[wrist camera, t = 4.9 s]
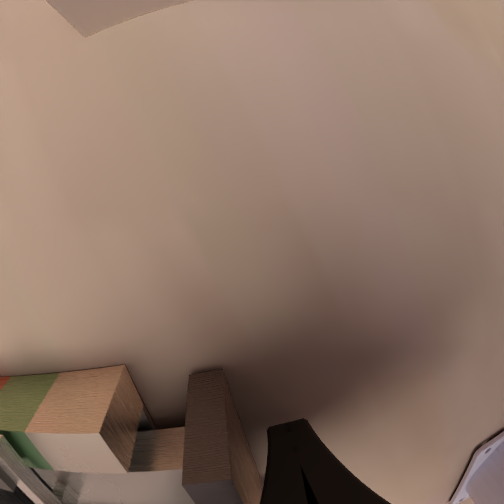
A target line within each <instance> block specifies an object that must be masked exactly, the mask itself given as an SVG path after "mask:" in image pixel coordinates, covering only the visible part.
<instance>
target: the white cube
mask: <svg viewBox="0 0 504 504" xmlns="http://www.w3.org/2000/svg"><path fill="white" fill-rule="evenodd" d="M46 1H47V2H48V3H49V4H50V5H51V6H52V7H53V8H54V9H56V10H57V11H58V12H59V13H60V14H61V15H62V16H63V17H64V18H65V19H66V20H67V21H68V22H69V23H70V24H71V25H72V26H73V27H74V28H75V29H76V30H77V31H78V32H79V33H81V34H82V35H83V36H84V37H88V36H90V35H92V34H94V33H97V32H99V31H101V30H104V29H106V28H109V27H111V26H114V25H116V24H119V23H122V22H124V21H127V20H130V19H133V18H135V17H138V16H141V15H144V14H147V13H150V12H153V11H157V10H160V9H163V8H167V7H170V6H174V5H177V4H181V3H185V2H189V1H193V0H46Z"/></svg>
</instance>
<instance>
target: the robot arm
mask: <svg viewBox="0 0 504 504" xmlns="http://www.w3.org/2000/svg"><path fill="white" fill-rule="evenodd" d="M267 435H268V455H267V466H266V473H265V480H264V486H263V491H262V495H261V500H260V504H391V503H389V502H388V501H386V500H385V499H383V498H382V497H380V496H379V495H378V494H376V493H375V492H374V491H372V490H371V489H370V488H368V487H367V486H366V485H365V484H364V483H362V482H361V481H360V480H359V479H358V478H357V477H355V476H354V475H353V474H352V473H351V472H350V471H349V470H348V469H347V468H346V467H345V466H344V465H343V464H342V463H341V462H340V461H339V460H338V459H337V458H336V457H335V456H334V455H333V454H332V453H331V452H330V450H329V449H328V448H327V447H326V446H325V444H324V443H323V442H322V441H321V440H320V438H319V437H318V436H317V434H316V433H315V432H314V430H313V429H312V427H311V425H310V424H309V422H308V420H306V419H304V418H303V419H299V420H295V421H292V422H288V423H284V424H280V425H275V426H271V427H269V428H268V429H267ZM469 496H470V497H471V498H472V500H473V501H474V503H475V504H504V431H503V432H502V433H500V434H499V435H498V436H496V437H495V438H493V439H492V440H490V441H489V442H487V443H486V444H485V445H483V446H482V447H480V448H479V449H478V450H477V451H476V452H475V454H474V456H473V458H472V460H471V462H470V464H469V466H468V468H467V470H466V472H465V474H464V476H463V478H462V480H461V482H460V484H459V486H458V488H457V490H456V492H455V494H454V495H453V497H452V499H451V501H450V502H449V504H458V503H460V502H461V501H463V500H465V499H466V498H468V497H469Z"/></svg>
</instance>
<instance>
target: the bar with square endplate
mask: <svg viewBox="0 0 504 504" xmlns="http://www.w3.org/2000/svg"><path fill="white" fill-rule="evenodd" d="M0 467H1V468H2V469H3V471H4V472H5V473H6V474H7V475H8V476H9V477H10V478H11V479H12V481H13V482H14V483H15V484H16V485H17V486H18V487H19V488H20V489H21V490H22V491H23V492H24V493H25V494H26V495H27V496H28V497H29V498H30V499H31V500H32V501H33V502H34V503H35V504H260V500H261V495H262V488H261V483H260V477H259V473H258V470H257V468H256V465H255V462H254V460H253V457H252V454H251V451H250V449H249V446H248V443H247V440H246V438H245V435H244V432H243V429H242V426H241V423H240V420H239V418H238V415H237V412H236V409H235V406H234V403H233V400H232V397H231V394H230V391H229V388H228V385H227V382H226V379H225V375H224V372H223V369H218V370H213V371H208V372H203V373H198V374H192V375H189V382H188V394H187V406H186V420H185V427H177V428H169V429H160V430H150V431H139V432H137V434H136V438H135V443H134V447H133V452H132V457H131V461H130V466H129V471H128V473H118V474H116V473H81V472H66V471H55V470H46V469H38V468H33V469H34V470H35V471H36V472H37V473H38V474H39V475H40V477H41V478H42V479H43V480H44V481H45V482H46V483H47V484H48V485H49V486H50V487H51V488H52V489H53V492H51V491H50V490H49V489H48V488H47V487H46V486H45V485H44V484H43V483H42V482H41V480H40V479H39V478H38V477H37V476H36V475H35V474H34V473H33V472H32V470H31V469H30V468H29V467H28V466H27V465H26V464H25V462H24V461H23V460H22V459H21V458H20V456H19V455H18V454H17V453H16V451H15V450H14V449H13V448H12V446H11V445H10V444H9V442H8V441H7V440H6V438H5V437H4V436H3V435H0Z"/></svg>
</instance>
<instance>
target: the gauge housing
mask: <svg viewBox="0 0 504 504" xmlns="http://www.w3.org/2000/svg"><path fill="white" fill-rule="evenodd" d="M150 430H157V428H156V426H155V424H154V423H153V421H152V419H151V417H150V415H149V413H148V411H147V409H146V407H145V406H144V404H143V402H142V400H141V398H140V396H139V394H138V392H137V390H136V388H135V386H134V383H133V381H132V379H131V377H130V375H129V373H128V371H127V369H126V366H125V365H120V366H112V367H105V368H97V369H89V370H81V371H72V372H62V373H52V374H40V375H28V376H12V377H0V435H3V436H4V437H5V438H6V440H7V441H8V442H9V444H10V445H11V446H12V448H13V449H14V450H15V451H16V453H17V454H18V455H19V456H20V458H21V459H22V460H23V461H24V462H25V464H26V465H27V466H28V467H29V468H30V469H31V470H32V472H33V473H34V474H35V475H36V476H37V477H38V478H39V479H40V480H41V482H42V483H43V484H44V485H45V486H46V487H47V488H48V489H49V490H50V491H51V492H53V489H52V488H51V487H50V486H49V485H48V484H47V483H46V482H45V481H44V480H43V479H42V478H41V477H40V475H39V474H38V473H37V472H36V471H35V470H34V469H33V468H38V469H46V470H55V471H66V472H81V473H116V474H118V473H128V471H129V466H130V461H131V457H132V452H133V447H134V443H135V438H136V434H137V432H139V431H150ZM0 504H35V503H34V502H33V501H32V500H31V499H30V498H29V497H28V496H27V495H26V494H25V493H24V492H23V491H22V490H21V489H20V488H19V487H18V486H17V485H16V488H15V490H14V492H12V491H8V490H4V489H0Z"/></svg>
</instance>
